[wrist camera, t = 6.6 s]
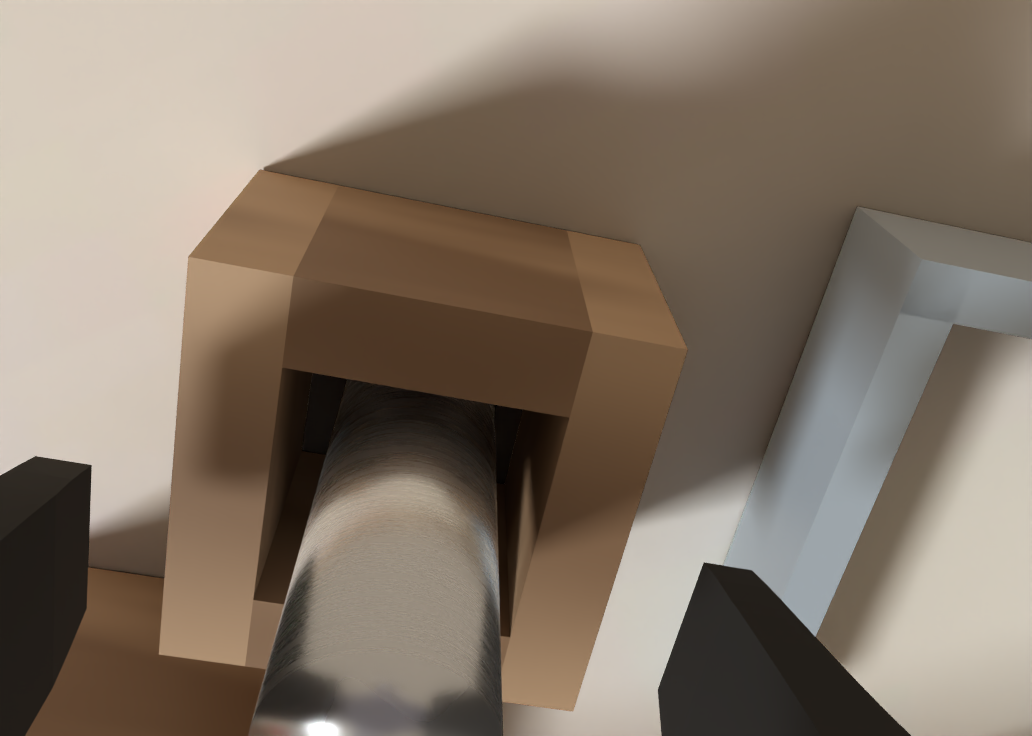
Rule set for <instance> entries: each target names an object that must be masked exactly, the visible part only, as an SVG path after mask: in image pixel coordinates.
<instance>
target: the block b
mask: <svg viewBox="0 0 1032 736" xmlns="http://www.w3.org/2000/svg"><path fill="white" fill-rule="evenodd" d="M687 351H688V349H687V347H686V344H685V342H684V340H683V338H682V336H681V334H680V331H679V329H678V327H677V325H676V323H675V320H674V318H673V316H672V314H671V312H670V309H669V307H668V305H667V303H666V301H665V299H664V296H663V294H662V292H661V290H660V288H659V285H658V283H657V281H656V279H655V277H654V274H653V272H652V270H651V268H650V266H649V264H648V261H647V259H646V257H645V255H644V253H643V250H642V248H641V246H640V245H638V244H633V243H628V242H622V241H617V240H612V239H607V238H602V237H597V236H592V235H587V234H582V233H577V232H572V231H567V230H562V229H557V228H552V227H547V226H542V225H537V224H532V223H527V222H522V221H516V220H511V219H506V218H501V217H496V216H491V215H486V214H481V213H476V212H471V211H466V210H461V209H456V208H451V207H446V206H441V205H436V204H431V203H426V202H421V201H416V200H410V199H405V198H400V197H395V196H390V195H385V194H380V193H375V192H370V191H365V190H360V189H355V188H350V187H345V186H340V185H335V184H330V183H325V182H320V181H315V180H310V179H304V178H299V177H294V176H289V175H284V174H279V173H274V172H269V171H264V170H259V171H258V172H257V174H256V175H255V176H254V177H253V178H252V180H251V181H250V182H249V183H248V185H247V186H246V187H245V188H244V189H243V191H242V192H241V193H240V194H239V196H238V197H237V198H236V199H235V200H234V202H233V203H232V204H231V205H230V207H229V208H228V209H227V210H226V211H225V213H224V214H223V215H222V216H221V218H220V219H219V220H218V221H217V222H216V224H215V225H214V226H213V227H212V229H211V230H210V231H209V232H208V233H207V235H206V236H205V237H204V238H203V240H202V241H201V242H200V243H199V244H198V246H197V247H196V248H195V249H194V251H193V252H192V253H191V254H190V255H189V257H188V269H187V282H186V296H185V309H184V323H183V336H182V349H181V363H180V376H179V390H178V403H177V416H176V430H175V443H174V457H173V470H172V484H171V497H170V510H169V524H168V537H167V551H166V564H165V578H164V591H163V604H162V618H161V631H160V645H159V655H167V656H174V657H181V658H188V659H196V660H203V661H210V662H217V663H225V664H232V665H239V666H246V667H254V668H261V669H266V668H267V664H268V661H269V657H270V654H271V650H272V647H273V643H274V639H275V636H276V632H277V629H278V625H279V621H280V618H281V614H282V611H283V607H284V604H285V600H286V596H287V593H288V589H289V586H290V582H291V579H292V575H293V571H294V568H295V564H296V561H297V557H298V553H299V550H300V546H301V543H302V539H303V536H304V532H305V528H306V525H307V521H308V518H309V514H310V511H311V507H312V503H313V500H314V496H315V493H316V489H317V485H318V482H319V478H320V475H321V471H322V468H323V464H324V460H325V457H326V455H323V454H317V453H311V452H305V451H302V445H303V438H304V431H305V424H306V417H307V409H308V402H309V395H310V388H311V381H312V374H313V373H316V374H322V375H328V376H334V377H339V378H345V379H351V380H356V381H362V382H368V383H374V384H379V385H385V386H391V387H397V388H402V389H408V390H414V391H419V392H425V393H431V394H437V395H442V396H448V397H454V398H460V399H465V400H471V401H477V402H482V403H488V404H494V405H500V406H505V407H511V408H517V409H523V411H522V415H521V419H520V423H519V427H518V431H517V435H516V439H515V443H514V447H513V452H512V456H511V460H510V464H509V468H508V472H507V476H506V480H505V484H499V483H497V522H498V561H499V599H500V638H501V677H502V702H508V703H515V704H522V705H530V706H537V707H544V708H551V709H559V710H566V711H573V710H574V707H575V703H576V700H577V697H578V694H579V691H580V688H581V685H582V681H583V678H584V675H585V672H586V669H587V666H588V663H589V659H590V656H591V653H592V650H593V647H594V644H595V640H596V637H597V634H598V631H599V628H600V625H601V622H602V618H603V615H604V612H605V609H606V606H607V603H608V600H609V596H610V593H611V590H612V587H613V584H614V581H615V578H616V574H617V571H618V568H619V565H620V562H621V559H622V555H623V552H624V549H625V546H626V543H627V540H628V537H629V533H630V530H631V527H632V524H633V521H634V518H635V515H636V511H637V508H638V505H639V502H640V499H641V496H642V493H643V489H644V486H645V483H646V480H647V477H648V474H649V470H650V467H651V464H652V461H653V458H654V455H655V452H656V448H657V445H658V442H659V439H660V436H661V433H662V430H663V426H664V423H665V420H666V417H667V414H668V411H669V408H670V404H671V401H672V398H673V395H674V392H675V389H676V386H677V382H678V379H679V376H680V373H681V370H682V367H683V363H684V360H685V357H686V354H687Z"/></svg>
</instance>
